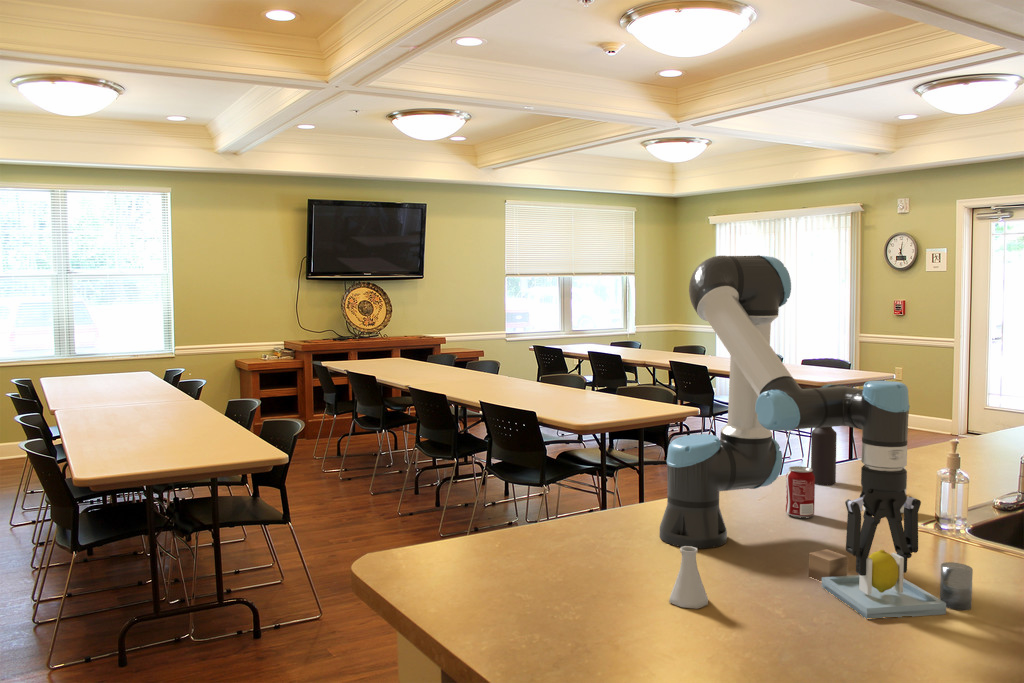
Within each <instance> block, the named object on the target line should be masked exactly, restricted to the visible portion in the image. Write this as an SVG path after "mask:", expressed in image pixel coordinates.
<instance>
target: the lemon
mask: <svg viewBox="0 0 1024 683" xmlns="http://www.w3.org/2000/svg"><path fill="white" fill-rule="evenodd" d="M868 557H869V558H870V559H872V586H873V587H874V588H876V589H877V590H878V591H879V592H881V593H883V592H884V591H885V590H889V589H891V588H892V587H894V586H895V584H896V582H897V580H898V566H897V563H896V560H895V559H894V557H893V556H891V553H889V552H886V551H885V550H884V549H879V550H878V551H874V552H872V553H871V554H869V556H868Z"/></svg>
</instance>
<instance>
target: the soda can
mask: <svg viewBox="0 0 1024 683" xmlns="http://www.w3.org/2000/svg"><path fill="white" fill-rule="evenodd" d="M785 477H786V479H785V513H786V514H787V515H789V516H790V515H791V516H790V517H792V516H794V517H793V518H795V517H801V518H800V519H807V518H806V517H809V518H811V517H813V516H814V515H815V500H816V499H815V493H816V492H815V491H816V489H815V488H816V486H815V485H816V484H815V476H814V474H813V473H812V469H811V467H809V466H801V465H799V466H797V465H795V466H789V467H788V472H787V473H786V475H785Z"/></svg>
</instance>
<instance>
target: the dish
mask: <svg viewBox="0 0 1024 683" xmlns="http://www.w3.org/2000/svg"><path fill="white" fill-rule="evenodd" d="M859 576H860V575H859V574H856V575H855V574H853V575H852V574H851V575H847V576H835V577H822V583H821V588H822V587H823V588H824V589H826V590H827V591H828V592H827V591H826V590H825V591H826V592H827V593H829V592H830V593H831V594H833V595H834V596H835V598H836V597H837V598H838V599H840V600H841V601H843V602H844V603H846V604H847V605H849V606H850V607H851V608H853V609H854V610H856V611H857V612H858V613H859V614H861V615H862V616H863V617H862V616H861V615H860V616H861V617H862V618H864V617H865V618H866V619H867V618H883V617H898V618H902V617H901V616H912V617H921V616H922V617H924V616H925V617H927V616H938V615H939V616H940V615H946V614H947V607H946V603H945V602H944V601H942V600H940V598H938V597H937V596H935V595H933V594H931V593H930V592H928V591H926V590H924V589H923V588H921V587H919V586H918V585H916V584H914V583H912V582H911V581H909V580H907V579H906V578H904V577H903V593H899V592H897V591H896V590H894V589H892V588H891V589H889V590H885V591H884V592H883V593H881V592H879V591H878V590H877V589H876V588H874V587H873V586H872V593H871V595H867V594H866V593H864V592H863V591H861V590H860V589H859ZM823 588H822V589H823ZM824 589H823V590H824ZM830 593H829V594H830ZM831 594H830V595H831ZM833 595H832V596H833ZM834 596H833V597H834ZM837 598H836V599H837ZM838 599H837V600H838ZM840 600H839V601H840ZM841 601H840V602H841ZM843 602H842V603H843ZM844 603H843V604H844ZM847 605H846V606H847ZM850 607H849V608H850ZM851 608H850V609H851ZM854 610H853V611H854ZM857 612H856V613H857ZM858 613H857V614H858ZM859 614H858V615H859ZM865 618H864V619H865ZM866 619H865V620H866Z"/></svg>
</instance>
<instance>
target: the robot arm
mask: <svg viewBox="0 0 1024 683" xmlns="http://www.w3.org/2000/svg"><path fill="white" fill-rule="evenodd" d="M791 281H792V280H791V277H790V273H789V271H788V269H787V267H786V266H785V264H784V263H783V261H781V259H778V258H777V257H774V256H765V255H760V254H758V255H716V256H711V257H709V258H707V259H705V260H704V261H702V262H701V263H700V264H699V265H698V266H697V267H696V268H695V270H694V271H693V273H692V275H691V277H690V279H689V285H688V286H689V287H688V294H689V300H690V304H691V305H692V307H693V309H694V311H695V313H696V314H697V316H698V317H699V318H700V319H701V320H703V321H705V322H708V324H709V325H710V326H711V328H712V330H713V331H714V332H715V334H716V335H717V336H718V339H719V340H720V341H721V343H722V344H723V346H724V347H725V349H726V351H727V352H728V354H729V355H730V358H729V359H730V362H729V364H730V365H729V384H728V385H729V386H728V387H729V388H728V390H729V391H728V409H727V423H726V424H725V425H724V426H723V427H722V428H721V429H720V438H719V437H718V436H716V435H714V434H709V433H708V434H707V433H702V434H689V435H688V434H687V435H684V436H680V437H677V438H675V439H673V440H672V441H671V442H670V443H669V444H668V448H667V455H666V456H667V457H666V465H667V469H666V470H667V473H666V474H667V476H666V479H667V480H666V481H667V485H666V486H667V488H666V489H667V491H666V492H667V493H666V494H667V495H666V496H667V502H666V507H665V510H664V513H663V516H662V519H661V522H660V525H659V538H660V540H662V541H663V542H665V543H666V544H669V545H672V546H675V547H680V548H681V547H684V546H691V547H695V548H698V549H711V548H717V547H720V546H722V545H724V544H726V543H727V541H728V531H727V527H726V523H725V521H724V517H723V514H722V511H721V507H720V492H728V491H738V490H746V489H751V490H755V489H759V488H762V487H763V488H764V487H767V486H770V485H771V484H772V483H775V481H777V479H778V478H779V476H780V473H781V471H782V467H783V452H782V450H780V448H781V446H780V444H779V442H778V441H777V440H776V439H775V438H773V432H772V431H776V432H777V431H778V432H779V431H784V432H789V431H793V430H802V429H803V430H804V429H815V428H821V427H832V428H833V427H848V428H854V429H857V430H862V431H861V433H862V434H861V435H862V436H861V459H860V460H861V463H862V464H863V465H862V466H861V470H860V474H861V475H860V484H861V488H862V489H861V493H860V495H859V497H858V498H855V499H853V500H852V499H846V500H845V502H844V503H845V507H846V510H847V520H846V521H847V522H846V536H845V538H846V539H845V551H846V552H847V553H849V554H850V555H852V556H854V557H855V571H856V573H857V575H860V576H859V589H860V590H861V591H863V592H864V593H866V594H867V595H871V593H872V559H870V558H869V556H870V552H871V548H872V545H873V541H874V539H875V538H874V537H875V534H876V531H877V528H878V525H879V524H880V523H881V519H886V520H887V523H888V527H889V531H890V535H891V539H892V542H893V548H894V551H895V552H891V553H890V555H891V556H893V557H894V559H895V560H896V563H897V566H898V580H897V582H896V584H895V586H894V587H892V589H894V590H896V591H897V592H899V593H903V578H904V574H906V573H908V572H907V571H908V559H910V558H911V557H913V556H912V555H913V554H912V553H914V554H917V552H919V511H920V508H921V504H922V501H921V500H920V499H918V498H916V497H913V496H911V495H909V496H907V492H906V493H905V489H906V486H907V485H908V484H907V483H908V480H907V479H908V471H907V469H904V468H906V467H907V466H908V433H909V431H908V430H909V412H910V411H909V410H910V402H909V388H908V386H907V385H906V384H905V383H903V382H901V381H900V382H899V381H891V380H868V381H866V382H865V383H864V384H863V386H862V388H858V387H853V386H847V385H844V384H831V383H829V384H823V386H820V387H816V388H814V387H813V388H802V387H801V386H800V385H799V384H798V382H797V381H796V379H795V378H794V377H793V376H792V374H791V373H790V372H789V370H788V369H787V367H786V365H784V363H783V362H782V360H781V358H779V356H778V355H777V353H776V352H775V351H774V349H773V347H772V346H771V329H772V326H771V325H772V323H773V322H774V320H776V319H777V318H778V317H779V311H780V309H779V308H781V307H782V306H784V305H785V304H787V302H788V299H789V298H790V296H791V293H792V282H791ZM907 487H908V486H907ZM903 505H904V513H903V517H902V513H901V511H900V509H901V508H902V506H903ZM863 506H864V507H865V511H864V510H863ZM862 511H863V512H864V513H863V515H862ZM862 517H863V522H862ZM902 522H903V523H902Z"/></svg>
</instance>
